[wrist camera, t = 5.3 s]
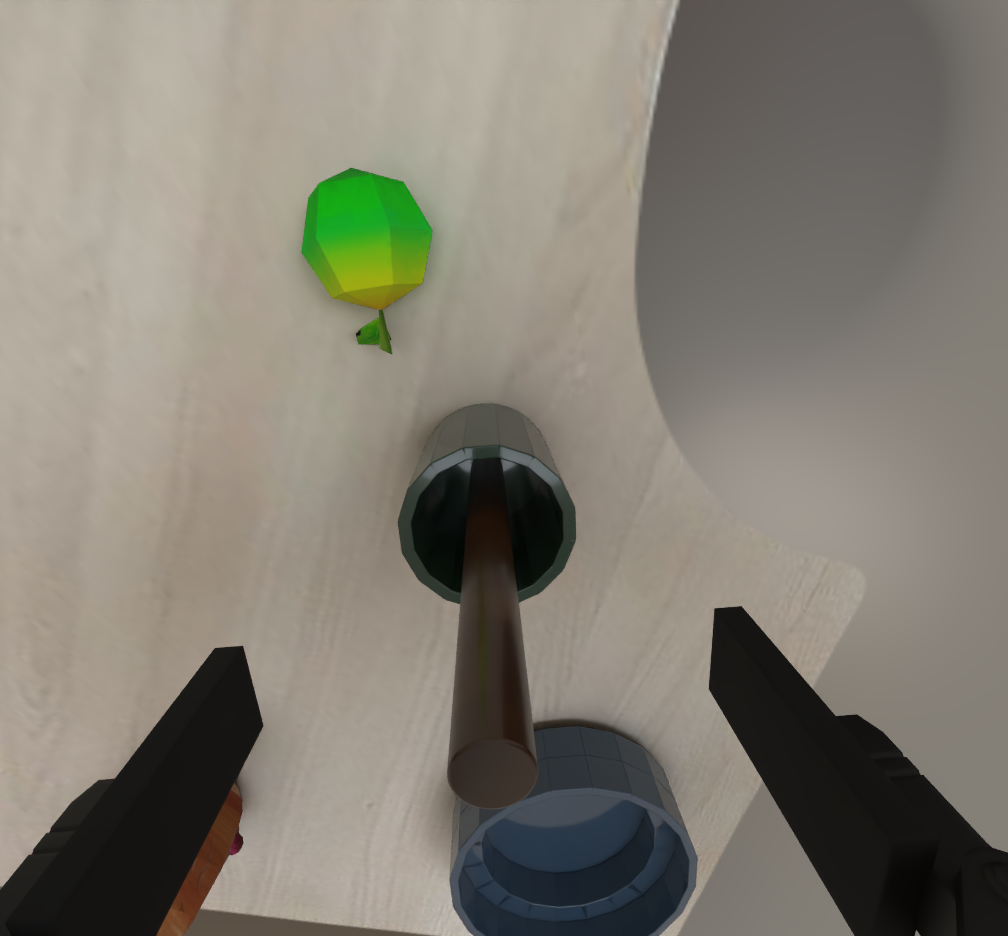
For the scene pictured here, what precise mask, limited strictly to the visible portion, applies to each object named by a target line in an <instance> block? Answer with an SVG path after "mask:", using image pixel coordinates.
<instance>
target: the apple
mask: <svg viewBox="0 0 1008 936" xmlns="http://www.w3.org/2000/svg"><path fill="white" fill-rule="evenodd" d="M431 236H432V229H431V227H430V226H429V224H428V222H427V220H426V219H425V217H424V215H423V214H422V212H421V210H420V209H419V207H418V205H417V204H416V202H415V200H414V199H413V197H412V195H411V194H410V192H409V190H408V189H407V187H406V185H405V184H404V182H402V181H398V180H394V179H390V178H387V177H383V176H379V175H376V174H372V173H368V172H365V171H361V170H357V169H354V168H350V169H348V170H346V171H344V172H342V173H339V174H337V175H335V176H333V177H331V178H329V179H327V180H325V181H323V182H321V183H319V184H318V186H317V187H316V188H315V190H314V191H313V192H312V194H311V195H310V197H309V198H308V206H307V213H306V221H305V229H304V236H303V244H302V254H303V255H304V257H305V258H306V260H307V261H308V263H309V264H310V266H311V267H312V269H313V270H314V272H315V273H316V275H317V276H318V278H319V279H320V281H321V282H322V284H323V285H324V287H325V288H326V290H327V291H328V293H329V294H330V296H331V297H332V298H334V299H338V300H342V301H346V302H350V303H354V304H358V305H362V306H366V307H370V308H374V309H378V310H379V318H377V319H376V320H374V321H373V322H371V323H369V324H368V325H366V326H365V327H363V328H362V329H360V330H359V331H358V332H357V333H356V337H357V341H358V344H378V345H380V349H381V350H384V351H386V352H388V353H390V354H392V350H391V345H390V340H391V338H390V335H389V333H388V330H387V327H386V323H385V319H384V314H383V309H384V308H386V307H387V306H389V305H390V304H392V303H393V302H395V301H396V300H398V299H399V298H401V297H402V296H404V295H405V294H407V293H408V292H410V291H412V290H413V289H415V288H416V287H418V286H419V285H421V284H422V283H423V279H424V273H425V268H426V263H427V258H428V252H429V247H430V242H431Z"/></svg>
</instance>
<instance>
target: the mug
mask: <svg viewBox="0 0 1008 936" xmlns="http://www.w3.org/2000/svg"><path fill="white" fill-rule="evenodd" d="M241 815H242V798H241V796H240V793H239V789H238V787H237V785H236V784H235V783H234V785H233V787H232V788H231V790H230V792H229V794H228V796H227V798H226V800H225V802H224V804H223V806H222V808H221V810H220V812H219V814H218V816H217V818H216V820H215V822H214V824H213V826H212V828H211V830H210V832H209V834H208V835H207V837H206V839H205V841H204V843H203V845H202V847H201V849H200V851H199V853H198V855H197V857H196V859H195V861H194V863H193V865H192V867H191V869H190V871H189V873H188V875H187V877H186V879H185V881H184V882H183V884H182V886H181V888H180V890H179V892H178V894H177V896H176V898H175V900H174V902H173V904H172V906H171V908H170V910H169V912H168V914H167V916H166V918H165V920H164V922H163V924H162V926H161V928H160V929H159V931H158V933H157V935H156V936H184V934H185V933H186V931H187V929H188V928H189V927H190V925H191V924H192V922H193V920H194V918H195V917H196V915H197V913H198V911H199V909H200V907H201V905H202V904H203V902H204V900H205V898H206V896H207V894H208V893H209V891H210V889H211V887H212V885H213V884H214V882H215V880H216V878H217V876H218V875H219V873H220V871H221V869H222V867H223V865H224V863H225V862H226V860H227V858H228V856H229V855H234V854H236V853H238V852H239V851H240V849H241V848H242V845H243V837H242V836H241V835H240V834H239V823H240V819H241Z"/></svg>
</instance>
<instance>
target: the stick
mask: <svg viewBox="0 0 1008 936" xmlns="http://www.w3.org/2000/svg"><path fill="white" fill-rule="evenodd" d="M447 777H448V782H449V784H450V787H451V789H452V790H453V792H454V793H455V795H456V796H457V797H458V798H459V799H461V800H462V801H463V802H465V803H467V804H469V805H471V806H474V807H477V808H482V809H501V808H505V807H509V806H512V805H514V804H516V803H518V802H520V801H521V800H523V799H524V798H525V797H526V796H527V795H528V794H529V793H530V792H531V791H532V789H533V788H534V786H535V783H536V781H537V777H538V763H537V754H536V746H535V737H534V729H533V720H532V712H531V703H530V695H529V686H528V678H527V669H526V661H525V652H524V644H523V635H522V627H521V618H520V610H519V601H518V593H517V584H516V576H515V567H514V559H513V550H512V542H511V533H510V525H509V516H508V508H507V499H506V491H505V482H504V474H503V466H502V463H501V462H500V460H499V459H498V458H489V459H475V460H474V461H473V463H472V465H471V471H470V484H469V497H468V510H467V523H466V536H465V549H464V562H463V574H462V587H461V600H460V613H459V626H458V639H457V652H456V665H455V678H454V691H453V704H452V717H451V729H450V742H449V755H448V768H447Z"/></svg>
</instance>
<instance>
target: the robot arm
mask: <svg viewBox="0 0 1008 936" xmlns="http://www.w3.org/2000/svg"><path fill="white" fill-rule="evenodd" d="M709 690H710V692H711V693H712V695H713V697H714V699H715V700H716V702H717V704H718V705H719V707H720V709H721V710H722V712H723V714H724V716H725V717H726V719H727V721H728V722H729V724H730V726H731V727H732V729H733V731H734V732H735V734H736V736H737V738H738V739H739V741H740V743H741V744H742V746H743V748H744V749H745V751H746V753H747V754H748V756H749V758H750V760H751V761H752V763H753V765H754V766H755V768H756V770H757V771H758V773H759V775H760V776H761V778H762V780H763V782H764V783H765V785H766V787H767V788H768V790H769V792H770V793H771V795H772V797H773V798H774V800H775V802H776V804H777V805H778V807H779V809H780V810H781V812H782V814H783V815H784V817H785V819H786V820H787V822H788V824H789V825H790V827H791V829H792V831H793V832H794V834H795V836H796V837H797V839H798V841H799V843H800V844H801V846H802V847H803V849H804V851H805V853H806V854H807V856H808V858H809V859H810V861H811V863H812V865H813V866H814V868H815V870H816V871H817V873H818V875H819V876H820V878H821V880H822V881H823V883H824V885H825V886H826V888H827V890H828V892H829V893H830V895H831V896H832V898H833V900H834V902H835V903H836V905H837V907H838V908H839V910H840V912H841V914H842V915H843V917H844V919H845V920H846V922H847V924H848V926H849V927H850V929H851V930H852V932H853V934H854V936H915V932H916V930H917V931H918V933H919V934H920V935H921V936H1008V853H1007V852H1004V851H1001V850H997V849H994V848H992V847H991V846H990V845H989V844H987V843H986V842H985V840H983V838H982V837H981V836H980V835H979V834H978V833H977V832H976V831H975V830H974V829H973V828H972V827H971V826H970V824H969V823H968V822H967V821H966V820H965V819H964V818H963V817H962V816H961V815H960V814H959V813H958V812H957V811H956V809H955V808H954V807H953V806H952V805H951V804H950V803H949V802H948V801H947V800H946V799H945V798H944V797H943V796H942V795H941V794H940V792H939V791H938V790H937V789H936V788H935V787H934V786H933V785H932V784H931V783H930V782H929V781H928V780H927V779H926V778H925V776H924V775H920V773H919V770H918V769H917V768H916V767H915V766H914V765H913V764H912V763H911V761H910V760H909V759H908V758H907V757H904V756H903V753H902V752H901V751H900V750H899V749H898V748H897V747H896V745H895V744H894V743H893V742H892V741H891V740H890V739H889V738H888V737H887V736H886V735H885V734H884V733H883V732H882V731H881V730H879V729H878V728H876V727H875V726H873V725H872V724H870V723H869V722H867V721H866V720H864V719H862V718H861V717H860V716H858V715H845V716H835V715H834V714H833V712H832V711H831V710H830V709H829V708H828V707H827V705H826V704H825V703H824V702H823V701H822V700H821V698H820V697H819V696H818V695H817V694H816V693H815V691H814V690H813V689H812V688H811V687H810V686H809V684H808V683H807V682H806V681H805V680H804V679H803V677H802V676H801V675H800V674H799V673H798V672H797V670H796V669H795V668H794V667H793V666H792V665H791V663H790V662H789V661H788V660H787V659H786V658H785V656H784V655H783V654H782V653H781V652H780V651H779V649H778V648H777V647H776V646H775V645H774V644H773V642H772V641H771V640H770V639H769V638H768V637H767V635H766V634H765V633H764V632H763V631H762V630H761V628H760V627H759V626H758V625H757V624H756V623H755V621H754V620H753V619H752V618H751V617H750V616H749V614H748V613H747V612H746V611H745V610H744V609H743V607H742V606H739V607H727V608H715V610H714V624H713V638H712V652H711V665H710V679H709ZM262 728H263V722H262V718H261V714H260V710H259V706H258V702H257V699H256V695H255V691H254V687H253V683H252V679H251V675H250V671H249V667H248V663H247V659H246V656H245V652H244V648H243V646H235V647H223V648H215V649H214V650H213V651H212V653H211V654H210V655H209V656H208V658H207V659H206V660H205V662H204V663H203V664H202V666H201V667H200V668H199V670H198V671H197V672H196V673H195V675H194V676H193V677H192V679H191V680H190V681H189V683H188V684H187V685H186V687H185V688H184V689H183V690H182V692H181V693H180V694H179V696H178V697H177V698H176V700H175V701H174V702H173V704H172V705H171V706H170V707H169V709H168V710H167V711H166V713H165V714H164V715H163V717H162V718H161V719H160V721H159V722H158V723H157V724H156V726H155V727H154V728H153V730H152V731H151V732H150V734H149V735H148V736H147V738H146V739H145V740H144V741H143V743H142V744H141V745H140V747H139V748H138V749H137V751H136V752H135V753H134V754H133V756H132V757H131V758H130V760H129V761H128V762H127V764H126V765H125V766H124V768H123V769H122V770H121V771H120V773H119V774H118V775H117V777H116V778H115V779H106V780H98V781H97V782H96V783H95V784H93V785H92V786H91V787H90V788H89V789H87V790H86V791H85V792H84V793H83V794H81V795H80V796H79V797H78V798H76V799H75V800H74V801H73V802H72V803H71V804H70V805H69V806H68V807H67V809H66V810H65V811H64V812H63V814H62V815H61V816H60V817H59V818H58V820H57V821H56V822H55V823H54V825H53V826H52V827H51V830H50V832H49V833H46V834H45V836H44V837H43V838H42V839H41V841H40V842H39V843H38V844H37V845H36V847H35V848H34V849H33V853H32V855H28V856H27V858H26V859H25V860H24V861H23V863H22V864H21V865H20V866H19V867H18V869H17V870H16V871H15V872H14V874H13V875H12V876H11V877H10V879H9V880H8V881H7V882H6V883H5V885H4V886H3V887H2V888H1V890H0V936H156V935H157V933H158V931H159V929H160V928H161V926H162V924H163V922H164V920H165V918H166V916H167V914H168V912H169V910H170V908H171V906H172V904H173V902H174V900H175V898H176V896H177V894H178V892H179V890H180V888H181V886H182V884H183V882H184V881H185V879H186V877H187V875H188V873H189V871H190V869H191V867H192V865H193V863H194V861H195V859H196V857H197V855H198V853H199V851H200V849H201V847H202V845H203V843H204V841H205V839H206V837H207V835H208V834H209V832H210V830H211V828H212V826H213V824H214V822H215V820H216V818H217V816H218V814H219V812H220V810H221V808H222V806H223V804H224V802H225V800H226V798H227V796H228V794H229V792H230V790H231V788H232V787H233V785H234V783H235V781H236V779H237V777H238V775H239V773H240V771H241V769H242V767H243V765H244V763H245V761H246V759H247V757H248V755H249V753H250V751H251V749H252V747H253V745H254V743H255V741H256V740H257V738H258V736H259V734H260V732H261V730H262Z"/></svg>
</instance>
